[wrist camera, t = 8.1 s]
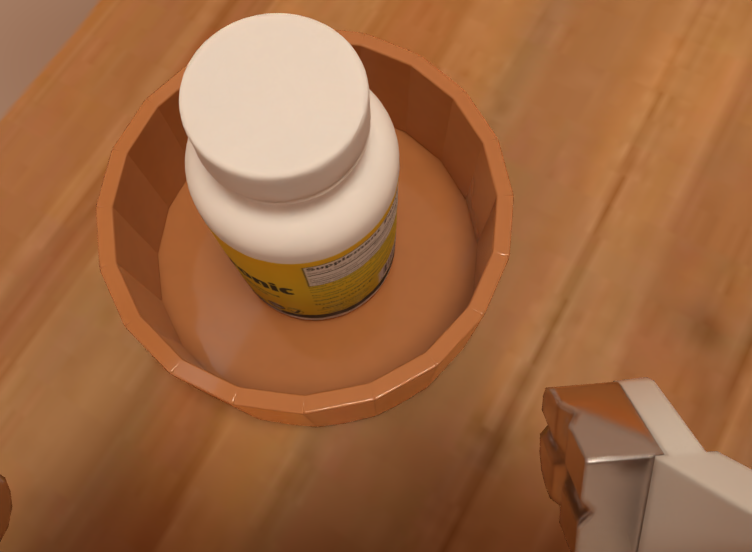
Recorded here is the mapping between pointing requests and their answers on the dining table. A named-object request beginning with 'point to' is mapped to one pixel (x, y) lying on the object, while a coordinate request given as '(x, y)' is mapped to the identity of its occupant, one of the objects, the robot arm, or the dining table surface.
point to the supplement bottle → (292, 163)
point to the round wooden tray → (299, 336)
